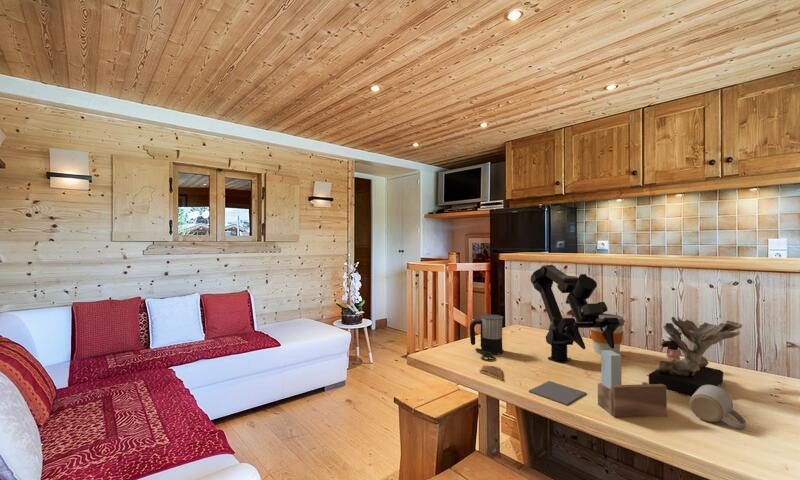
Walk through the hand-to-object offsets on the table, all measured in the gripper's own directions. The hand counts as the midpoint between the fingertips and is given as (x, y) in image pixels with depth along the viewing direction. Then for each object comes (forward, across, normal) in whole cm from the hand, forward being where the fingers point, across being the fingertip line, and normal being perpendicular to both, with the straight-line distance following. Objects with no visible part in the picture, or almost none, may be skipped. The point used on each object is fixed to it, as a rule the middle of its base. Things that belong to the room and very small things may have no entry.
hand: (598, 348), depth 115 cm
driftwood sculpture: (+9, +33, +9) cm, 35 cm away
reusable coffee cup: (-16, +23, +33) cm, 43 cm away
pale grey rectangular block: (+13, 0, +4) cm, 14 cm away
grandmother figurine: (-4, +38, +22) cm, 44 cm away
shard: (-1, -29, +19) cm, 35 cm away
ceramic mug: (+24, +19, -6) cm, 31 cm away
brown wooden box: (+20, 0, -2) cm, 20 cm away
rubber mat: (+11, -15, +7) cm, 20 cm away
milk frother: (-16, -25, +34) cm, 45 cm away
